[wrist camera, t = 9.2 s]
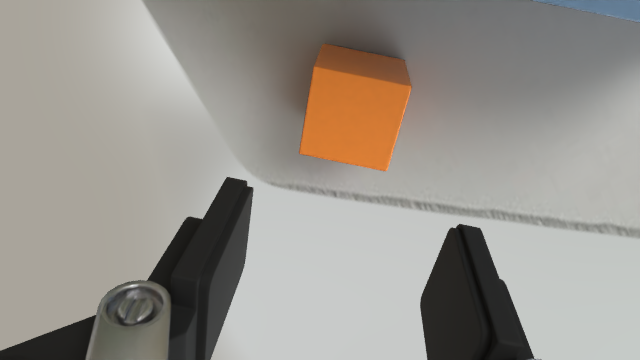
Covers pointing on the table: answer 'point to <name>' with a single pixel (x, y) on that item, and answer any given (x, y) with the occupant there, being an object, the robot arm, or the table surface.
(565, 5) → the drawer cabinet
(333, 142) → the matte orange cube
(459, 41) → the table surface
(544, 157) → the table surface
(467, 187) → the table surface
